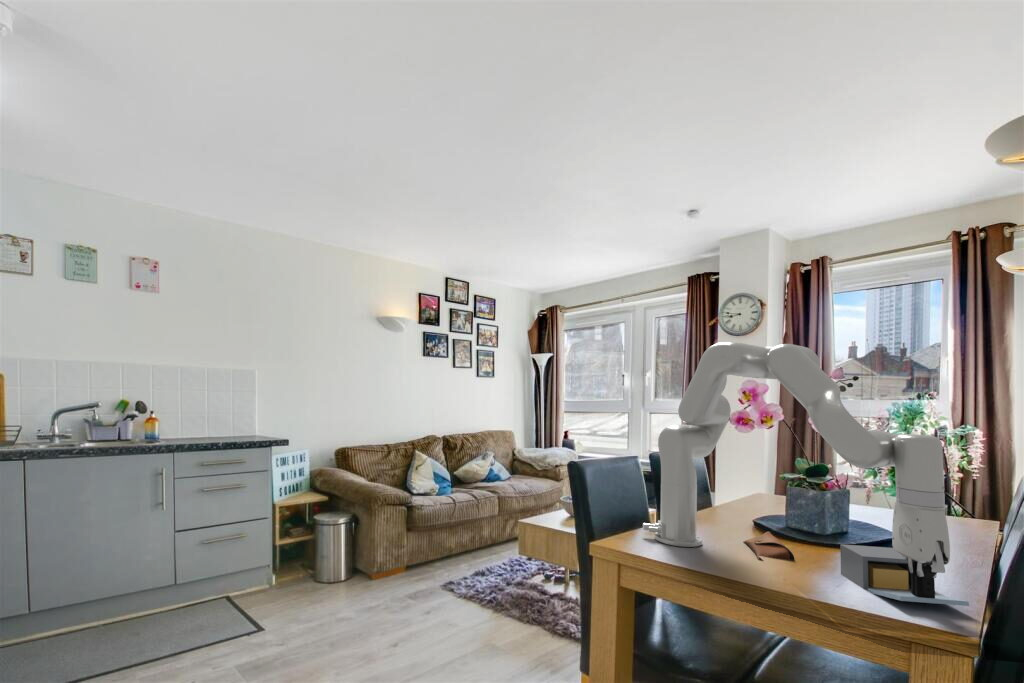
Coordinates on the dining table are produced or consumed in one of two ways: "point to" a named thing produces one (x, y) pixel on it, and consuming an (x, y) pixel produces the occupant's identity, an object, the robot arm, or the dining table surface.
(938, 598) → the side door
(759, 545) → the sunglasses case
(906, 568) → the block
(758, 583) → the dining table surface
